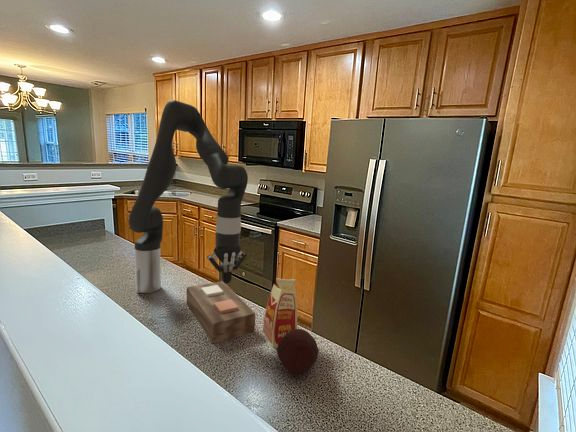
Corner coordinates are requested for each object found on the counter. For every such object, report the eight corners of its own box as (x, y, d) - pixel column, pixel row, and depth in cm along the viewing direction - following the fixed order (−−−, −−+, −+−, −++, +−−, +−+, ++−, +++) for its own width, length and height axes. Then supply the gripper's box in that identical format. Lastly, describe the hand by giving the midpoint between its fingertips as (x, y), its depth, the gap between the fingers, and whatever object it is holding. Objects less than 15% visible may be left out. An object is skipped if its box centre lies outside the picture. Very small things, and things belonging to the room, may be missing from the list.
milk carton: (273, 348, 93) (277, 285, 89) (261, 332, 101) (264, 273, 97) (299, 341, 97) (304, 281, 94) (286, 326, 105) (290, 270, 102)
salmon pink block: (220, 322, 98) (220, 310, 98) (213, 314, 103) (213, 302, 103) (237, 318, 102) (238, 306, 101) (230, 310, 107) (230, 299, 106)
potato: (314, 354, 91) (317, 321, 89) (319, 387, 78) (323, 350, 76) (276, 352, 91) (278, 320, 89) (275, 385, 78) (277, 348, 76)
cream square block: (206, 305, 109) (206, 294, 108) (201, 297, 114) (201, 287, 113) (222, 301, 112) (223, 291, 112) (217, 294, 117) (217, 284, 116)
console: (212, 343, 93) (212, 323, 92) (186, 303, 116) (186, 287, 115) (254, 331, 101) (255, 313, 100) (222, 296, 124) (222, 281, 123)
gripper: (242, 226, 104) (240, 275, 107) (203, 228, 96) (202, 281, 100) (253, 231, 97) (250, 283, 101) (211, 234, 90) (209, 290, 94)
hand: (226, 282), depth 100 cm, fingers closed
